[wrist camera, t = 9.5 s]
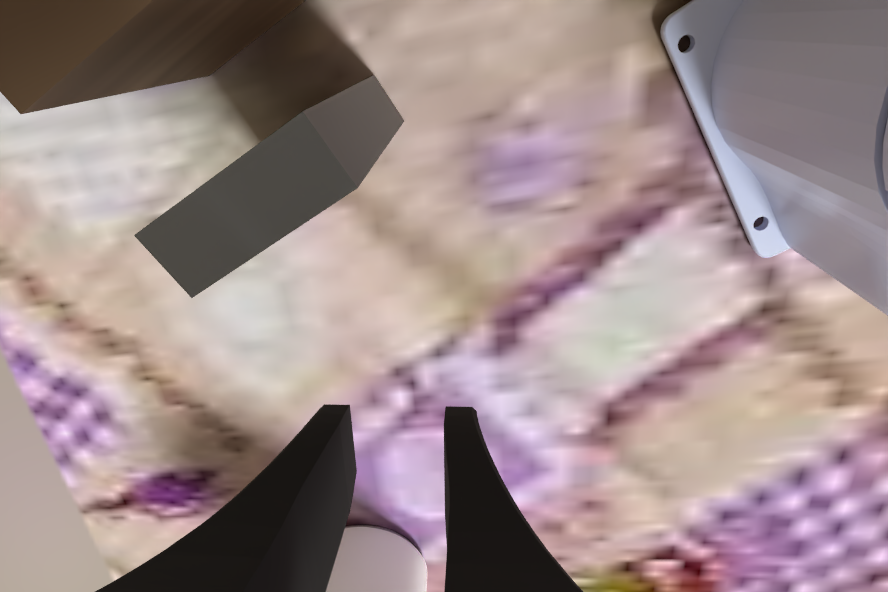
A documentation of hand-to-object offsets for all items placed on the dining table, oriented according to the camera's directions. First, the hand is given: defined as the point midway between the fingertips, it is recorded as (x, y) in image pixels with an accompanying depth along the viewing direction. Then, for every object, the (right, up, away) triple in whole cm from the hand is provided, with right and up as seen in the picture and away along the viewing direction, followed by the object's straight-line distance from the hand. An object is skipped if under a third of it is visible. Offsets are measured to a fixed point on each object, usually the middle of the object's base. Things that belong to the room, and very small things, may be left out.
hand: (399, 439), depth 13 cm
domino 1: (-6, +13, +5) cm, 15 cm away
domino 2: (-3, +9, +7) cm, 12 cm away
